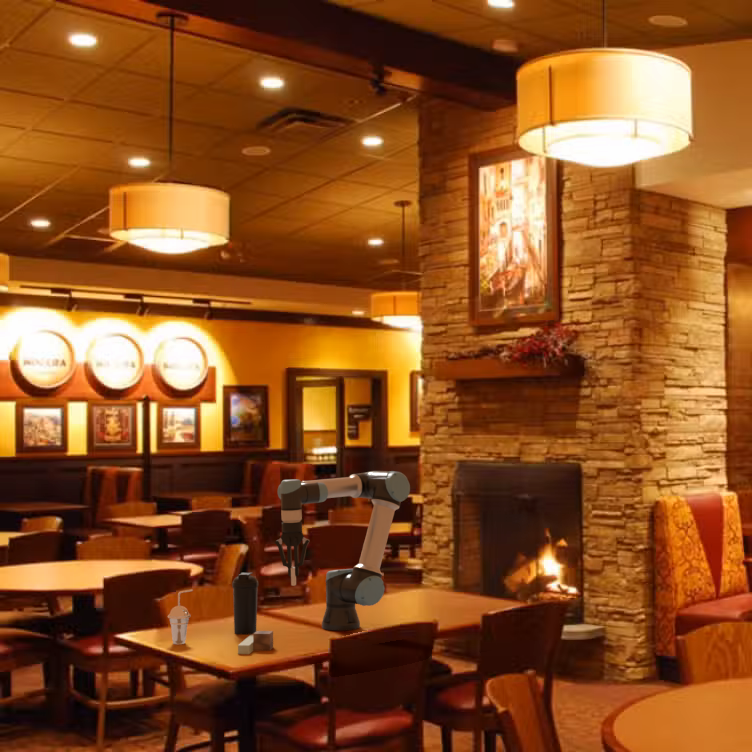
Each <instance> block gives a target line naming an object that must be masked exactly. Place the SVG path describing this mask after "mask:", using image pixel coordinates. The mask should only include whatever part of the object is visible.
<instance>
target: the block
mask: <svg viewBox="0 0 752 752" xmlns="http://www.w3.org/2000/svg"><path fill="white" fill-rule="evenodd" d="M252 635H253V651H257V652H259V651H260V652H261V651H269V652H270V651H271V650H272V649H273V648H274V630H256V632H255V633H254V634H252Z"/></svg>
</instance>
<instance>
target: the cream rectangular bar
mask: <svg viewBox="0 0 752 752" xmlns="http://www.w3.org/2000/svg"><path fill="white" fill-rule="evenodd" d="M252 652H254V650H253V634H249V636H247V637H246V638H245V639H243V641H241V642H240V643H239V644H237V654H238V655H250V654H251V653H252Z"/></svg>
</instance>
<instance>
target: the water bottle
mask: <svg viewBox="0 0 752 752" xmlns="http://www.w3.org/2000/svg"><path fill="white" fill-rule="evenodd" d="M251 574H253V572H240V574H238V576H236V577H234V579H233V581H232V582H231V586H232V589H233V591H232V595H233V625H234V626H233V632H234V634H236V635H253V634H254V633H255V632H256V631H257V622H258V621H257V620H258V617H257V616H258V615H257V614H258V587H259V580H258V579H257V578H256V577H255V576H253V575H251Z"/></svg>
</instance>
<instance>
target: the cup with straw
mask: <svg viewBox="0 0 752 752" xmlns="http://www.w3.org/2000/svg"><path fill="white" fill-rule="evenodd" d="M193 591H194V589H193V588H191V589H186V590H185V589H184V590H180V591H178V593H177V605H176V606H174V607H172V608H171V609H170V612H169V614H168V615H167V618H168V619H169V623H170V627H171V628H170V629H171V638H172V644H173V645H177V646H178V645H184V644H186V640H187V631H188V624H189V620H190V619H189V618H191V613H189V611H188V608H186V607H185V606H184V605H181V602H180V601H181V594H182V593H189V592H193Z"/></svg>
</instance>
